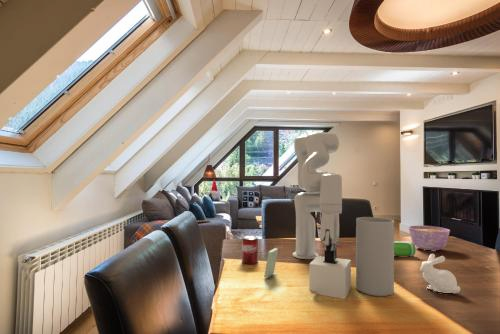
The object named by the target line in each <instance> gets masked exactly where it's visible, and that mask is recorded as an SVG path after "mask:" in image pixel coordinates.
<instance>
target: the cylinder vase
mask: <svg viewBox="0 0 500 334" xmlns="http://www.w3.org/2000/svg"><path fill="white" fill-rule="evenodd" d="M355 220H356V221H355V222H356V223H355V224H356V225H355V228H356V229H355V244H356V245H355V288H356V289H357V290H358V291H359V292H361V293H363V294H365V295H368V296H372V295H373V296H372V297H374V296H375V297H388V295H389V296H391V295H393V294H394V292H395V257H394V241H395V220H393V219H390V218H385V217H376V216H375V217H374V216H373V217H371V216H362V217H361V216H360V217H356V219H355Z"/></svg>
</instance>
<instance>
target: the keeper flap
mask: <svg viewBox="0 0 500 334" xmlns="http://www.w3.org/2000/svg"><path fill="white" fill-rule="evenodd" d="M278 251H279V248H277V247H274V248H273V249H270V250H269V251H268V252H267V257H266V258H267V259H266V264H265V265H266V266H265V270H264V274H263V275H264V278H266V279H267V278H268V277H269V276H271V275H272V274H275V270H276V263H277V257H278V253H279V252H278Z"/></svg>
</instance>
